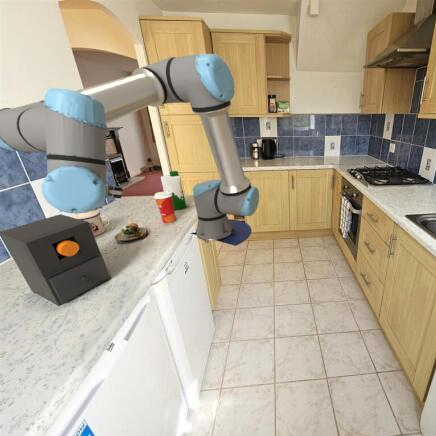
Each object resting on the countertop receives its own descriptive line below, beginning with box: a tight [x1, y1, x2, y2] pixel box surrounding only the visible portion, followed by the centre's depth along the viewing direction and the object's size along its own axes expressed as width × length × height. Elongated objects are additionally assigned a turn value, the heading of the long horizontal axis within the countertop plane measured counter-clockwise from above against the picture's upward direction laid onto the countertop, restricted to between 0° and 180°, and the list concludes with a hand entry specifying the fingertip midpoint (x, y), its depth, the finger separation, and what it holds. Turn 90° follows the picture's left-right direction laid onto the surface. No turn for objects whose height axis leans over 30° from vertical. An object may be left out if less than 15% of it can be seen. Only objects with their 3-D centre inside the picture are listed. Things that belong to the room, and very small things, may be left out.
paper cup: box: [153, 191, 176, 224], centre depth 116 cm, size 8×8×14 cm
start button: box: [56, 240, 79, 256], centre depth 66 cm, size 2×4×4 cm, turn 155°
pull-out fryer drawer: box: [49, 255, 111, 304], centre depth 72 cm, size 16×12×8 cm
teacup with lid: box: [72, 209, 111, 237], centre depth 106 cm, size 12×9×12 cm
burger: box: [114, 219, 149, 242], centre depth 102 cm, size 12×12×8 cm
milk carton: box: [160, 170, 187, 212], centre depth 131 cm, size 9×9×20 cm
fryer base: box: [16, 251, 111, 307], centre depth 73 cm, size 16×14×10 cm
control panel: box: [0, 213, 101, 277], centre depth 69 cm, size 15×14×10 cm
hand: (94, 187), depth 68 cm, fingers closed
